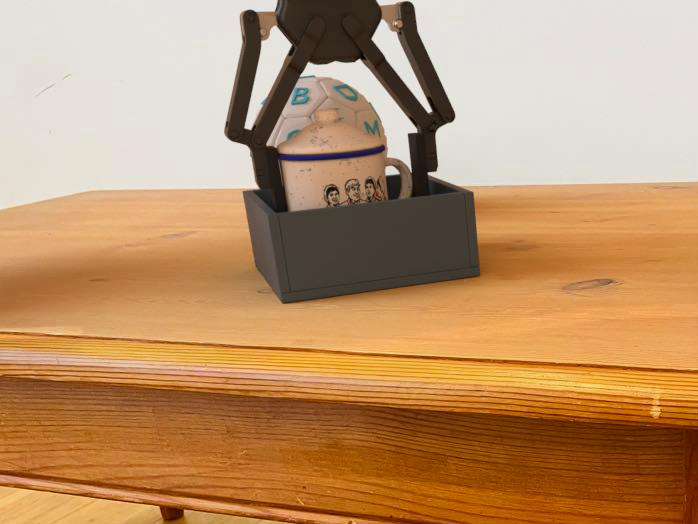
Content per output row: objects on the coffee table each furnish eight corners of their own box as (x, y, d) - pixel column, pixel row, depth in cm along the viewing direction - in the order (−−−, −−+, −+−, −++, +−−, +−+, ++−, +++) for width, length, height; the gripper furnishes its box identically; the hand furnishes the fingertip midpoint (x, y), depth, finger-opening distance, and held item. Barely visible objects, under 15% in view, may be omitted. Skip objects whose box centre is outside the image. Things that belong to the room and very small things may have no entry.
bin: (282, 303, 85) (267, 215, 82) (255, 267, 99) (242, 190, 96) (480, 275, 90) (473, 191, 87) (428, 244, 104) (420, 171, 101)
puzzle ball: (407, 204, 129) (392, 68, 122) (378, 227, 115) (359, 75, 109) (285, 210, 130) (264, 76, 124) (242, 233, 117) (216, 84, 110)
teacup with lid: (321, 269, 88) (300, 116, 82) (272, 255, 94) (250, 113, 89) (444, 246, 94) (431, 103, 89) (390, 234, 101) (376, 100, 95)
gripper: (160, -67, 77) (216, 243, 86) (479, -77, 84) (499, 210, 93) (155, -58, 83) (208, 229, 92) (452, -68, 90) (473, 200, 100)
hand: (354, 220), depth 93 cm, fingers closed on teacup with lid, 12 cm apart
